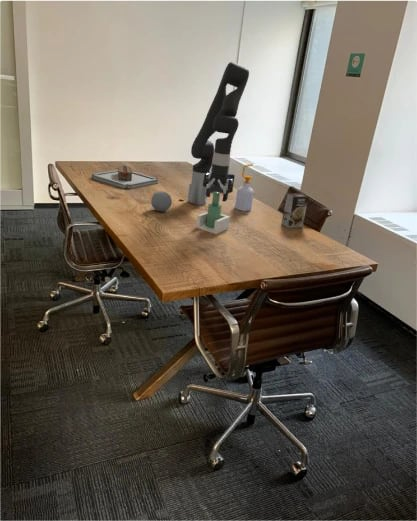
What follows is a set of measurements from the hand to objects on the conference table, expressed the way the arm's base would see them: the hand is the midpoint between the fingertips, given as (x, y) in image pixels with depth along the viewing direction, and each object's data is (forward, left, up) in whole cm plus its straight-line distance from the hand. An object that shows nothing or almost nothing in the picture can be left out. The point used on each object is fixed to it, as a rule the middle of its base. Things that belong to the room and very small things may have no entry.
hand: (216, 198), depth 202 cm
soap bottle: (-6, +42, -14) cm, 45 cm away
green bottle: (0, 0, -13) cm, 13 cm away
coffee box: (+25, +37, -14) cm, 47 cm away
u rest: (0, 0, -14) cm, 14 cm away
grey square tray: (-81, +31, -15) cm, 88 cm away
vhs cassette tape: (-36, +65, -14) cm, 76 cm away
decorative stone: (-31, +1, -14) cm, 34 cm away
